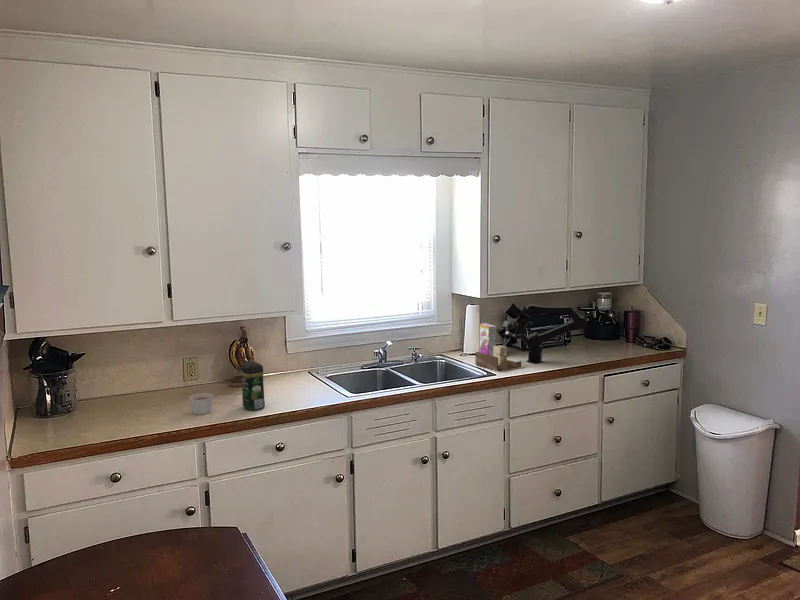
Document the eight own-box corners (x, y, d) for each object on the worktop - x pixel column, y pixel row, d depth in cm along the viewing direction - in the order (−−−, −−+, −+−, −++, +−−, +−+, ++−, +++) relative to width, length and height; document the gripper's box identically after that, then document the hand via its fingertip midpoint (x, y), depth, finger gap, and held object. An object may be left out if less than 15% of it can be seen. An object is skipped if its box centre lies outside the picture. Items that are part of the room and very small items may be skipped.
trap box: (499, 361, 340) (499, 348, 339) (521, 367, 326) (521, 353, 326) (475, 365, 331) (475, 351, 330) (496, 371, 318) (496, 357, 317)
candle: (218, 411, 258) (217, 395, 257) (199, 417, 250) (199, 401, 249) (203, 407, 263) (202, 392, 262) (184, 413, 255) (184, 397, 255)
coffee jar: (240, 406, 264) (238, 361, 262) (259, 403, 268) (257, 358, 266) (247, 412, 256) (245, 365, 253) (267, 409, 260) (265, 363, 257)
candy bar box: (478, 353, 360) (478, 323, 358) (486, 352, 362) (486, 323, 360) (488, 357, 350) (488, 326, 348) (496, 356, 352) (497, 326, 350)
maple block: (499, 360, 332) (499, 345, 331) (506, 362, 328) (506, 346, 327) (493, 361, 330) (493, 346, 329) (499, 363, 326) (500, 347, 325)
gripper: (499, 312, 338) (482, 335, 334) (524, 317, 322) (507, 341, 318) (510, 326, 343) (494, 349, 339) (535, 331, 328) (519, 355, 323)
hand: (503, 348), depth 330 cm, fingers closed
